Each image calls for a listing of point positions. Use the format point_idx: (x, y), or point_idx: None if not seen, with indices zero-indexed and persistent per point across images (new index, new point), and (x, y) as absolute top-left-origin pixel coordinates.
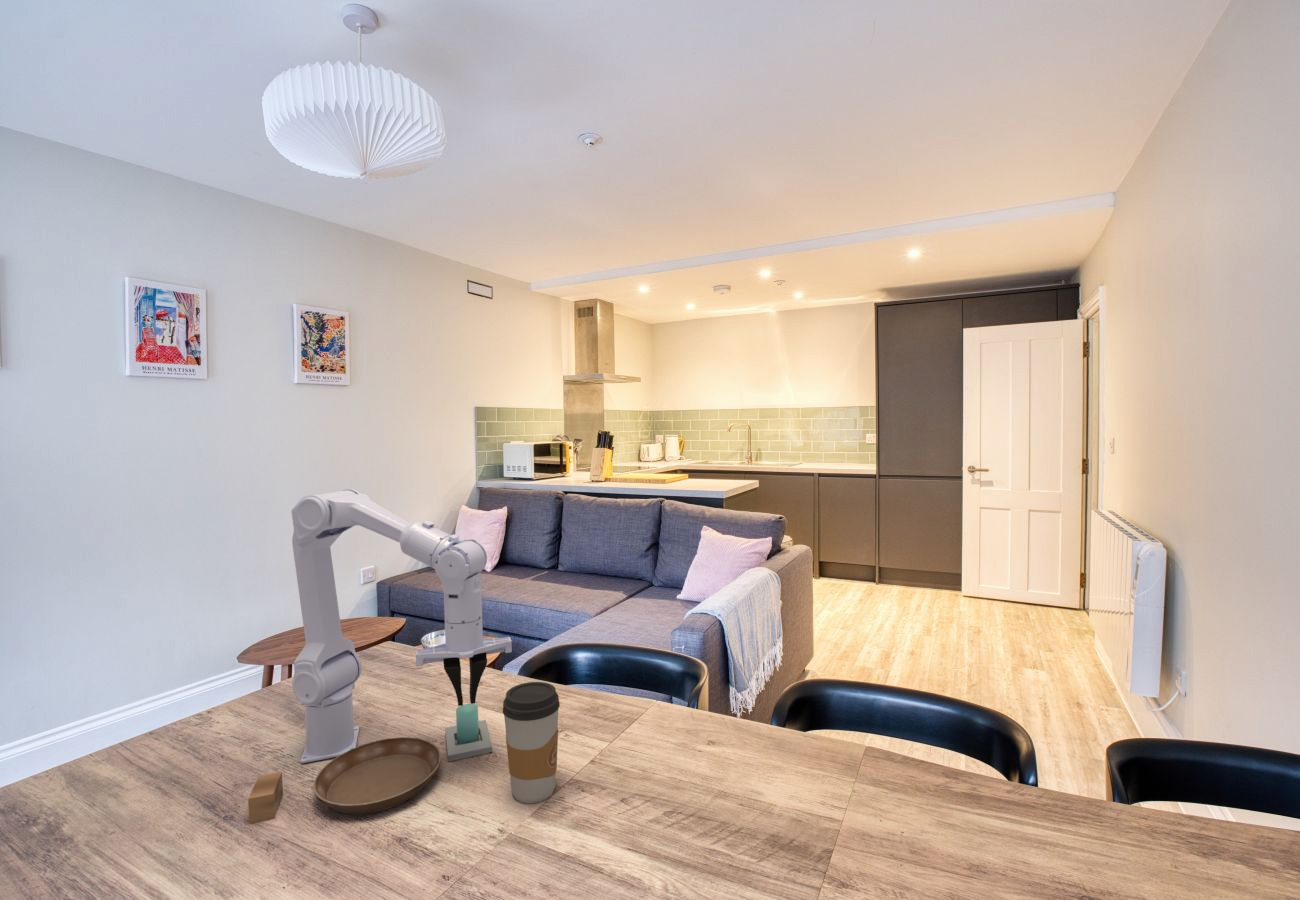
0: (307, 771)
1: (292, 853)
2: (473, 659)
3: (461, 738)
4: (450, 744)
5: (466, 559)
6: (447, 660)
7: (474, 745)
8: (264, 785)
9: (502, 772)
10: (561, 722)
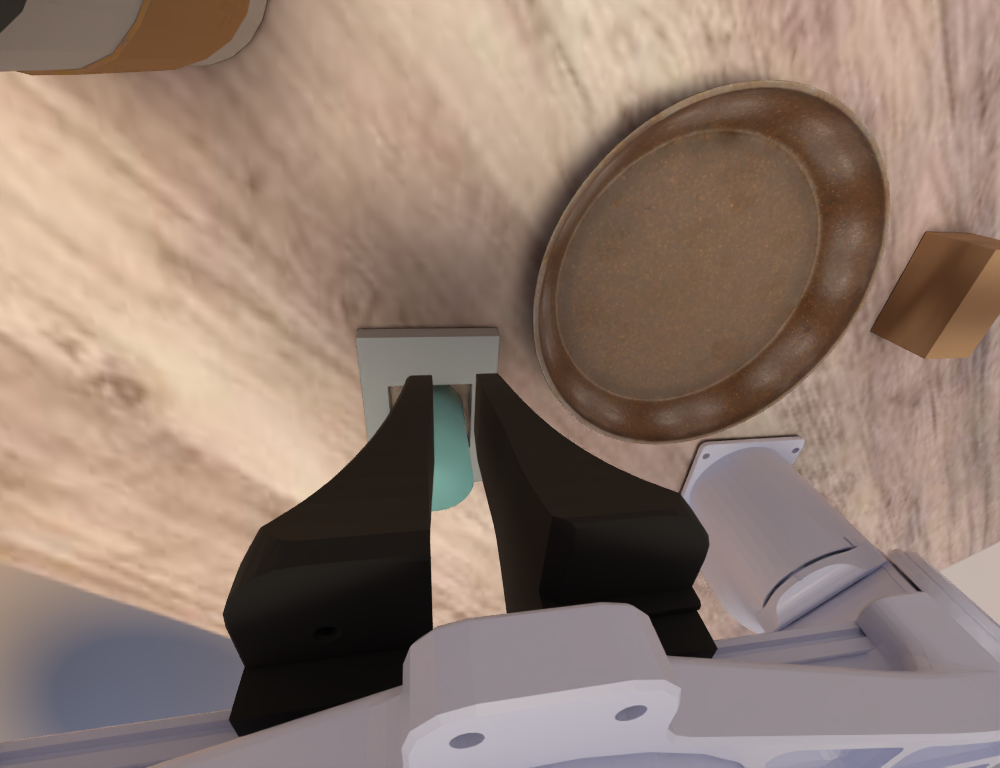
0: (798, 405)
1: (975, 7)
2: (401, 640)
3: (453, 404)
4: None
5: None
6: (673, 642)
7: (414, 365)
8: (984, 304)
9: (320, 184)
10: (108, 430)
